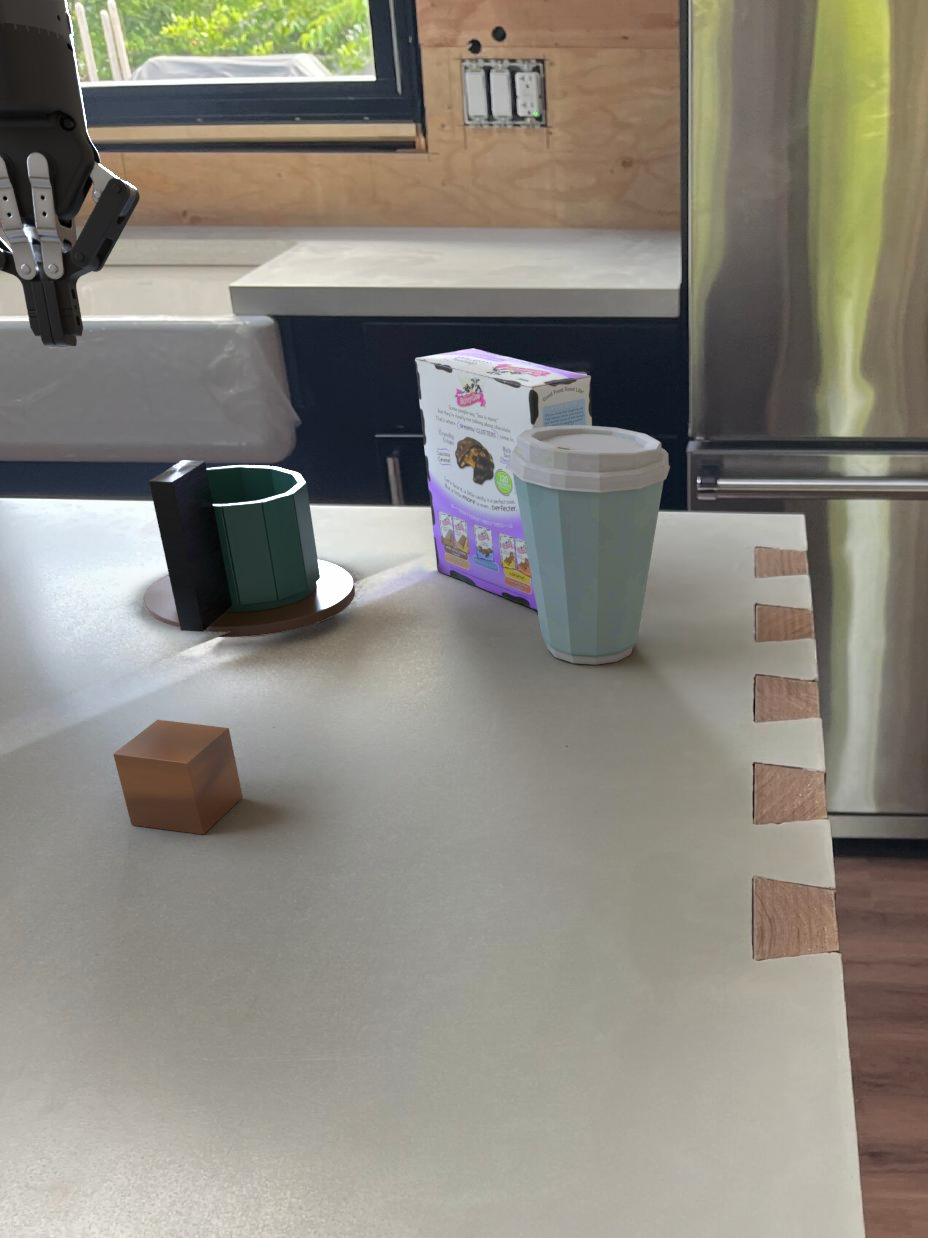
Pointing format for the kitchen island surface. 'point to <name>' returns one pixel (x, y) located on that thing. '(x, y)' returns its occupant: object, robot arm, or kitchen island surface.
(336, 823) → the kitchen island surface
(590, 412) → the candy box
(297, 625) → the cup with saucer
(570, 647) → the disposable coffee cup
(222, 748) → the block
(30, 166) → the robot arm
